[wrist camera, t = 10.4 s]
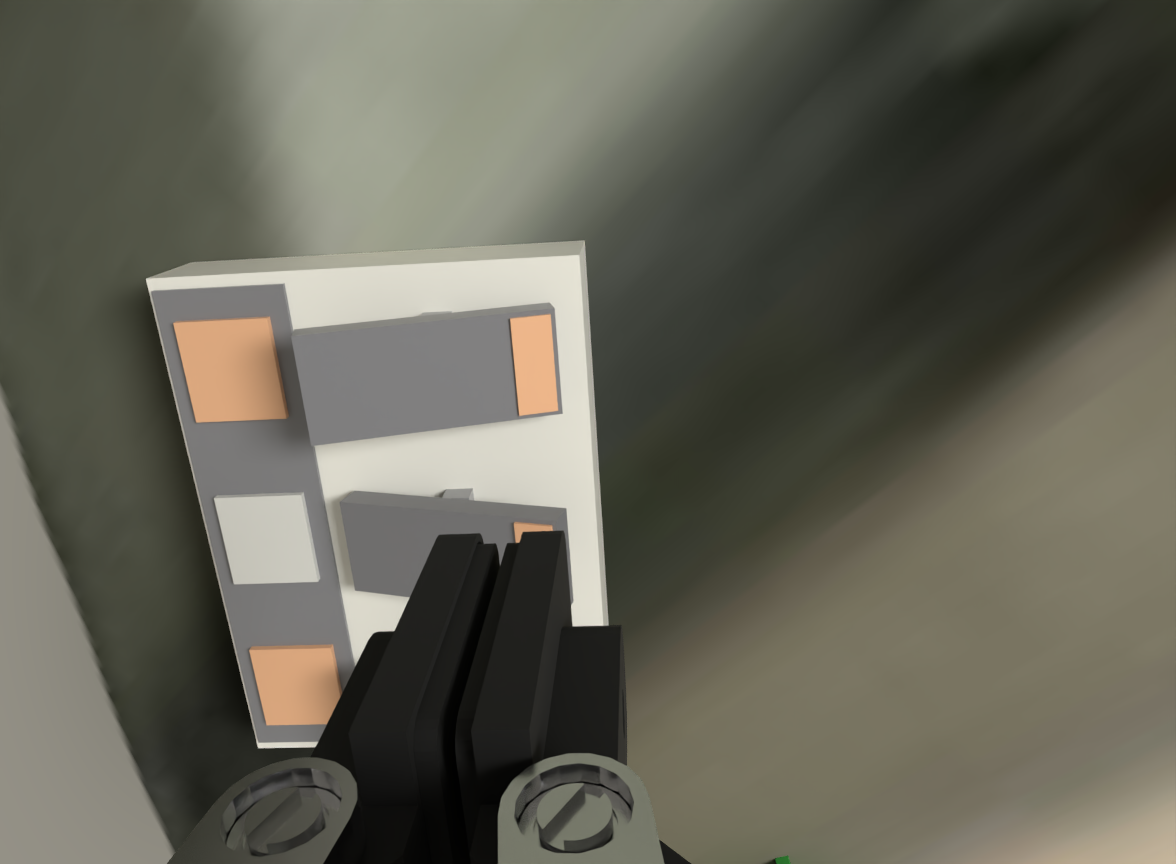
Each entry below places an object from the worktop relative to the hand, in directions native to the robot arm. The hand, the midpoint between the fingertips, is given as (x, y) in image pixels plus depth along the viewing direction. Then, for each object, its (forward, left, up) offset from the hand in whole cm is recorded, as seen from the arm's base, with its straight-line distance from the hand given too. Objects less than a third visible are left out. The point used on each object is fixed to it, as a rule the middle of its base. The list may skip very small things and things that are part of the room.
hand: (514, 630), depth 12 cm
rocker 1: (+3, -6, -23) cm, 24 cm away
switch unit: (+11, -9, -29) cm, 33 cm away
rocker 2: (+11, -6, -23) cm, 26 cm away
